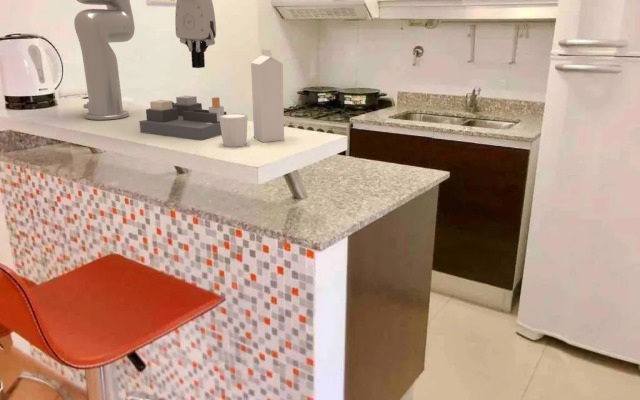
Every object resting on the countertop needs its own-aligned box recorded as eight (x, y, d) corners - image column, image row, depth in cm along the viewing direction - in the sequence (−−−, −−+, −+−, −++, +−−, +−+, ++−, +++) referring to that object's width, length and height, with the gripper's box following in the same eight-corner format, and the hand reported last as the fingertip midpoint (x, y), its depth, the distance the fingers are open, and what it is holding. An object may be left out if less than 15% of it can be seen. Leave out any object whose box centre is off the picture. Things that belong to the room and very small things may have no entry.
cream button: (151, 114, 143) (149, 101, 142) (161, 112, 147) (160, 99, 146) (162, 116, 142) (161, 102, 141) (173, 113, 145) (171, 100, 144)
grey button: (177, 109, 152) (176, 97, 151) (186, 107, 155) (185, 95, 154) (187, 110, 150) (187, 98, 149) (197, 108, 153) (196, 96, 152)
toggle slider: (209, 120, 142) (208, 98, 140) (216, 119, 144) (215, 96, 142) (217, 121, 140) (215, 98, 139) (224, 120, 143) (223, 97, 141)
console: (140, 132, 144) (138, 110, 142) (188, 121, 160) (186, 100, 158) (201, 140, 134) (199, 116, 132) (245, 127, 150) (244, 106, 148)
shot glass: (251, 141, 133) (250, 113, 131) (245, 147, 127) (244, 118, 125) (224, 140, 134) (223, 113, 132) (217, 147, 127) (215, 117, 125)
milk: (275, 136, 140) (273, 48, 133) (284, 140, 135) (283, 49, 128) (253, 138, 137) (250, 49, 130) (261, 142, 132) (259, 50, 125)
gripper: (161, -8, 134) (166, 66, 140) (208, -8, 128) (211, 70, 134) (182, -7, 141) (186, 64, 147) (227, -7, 134) (230, 68, 140)
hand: (198, 67), depth 140 cm, fingers closed
